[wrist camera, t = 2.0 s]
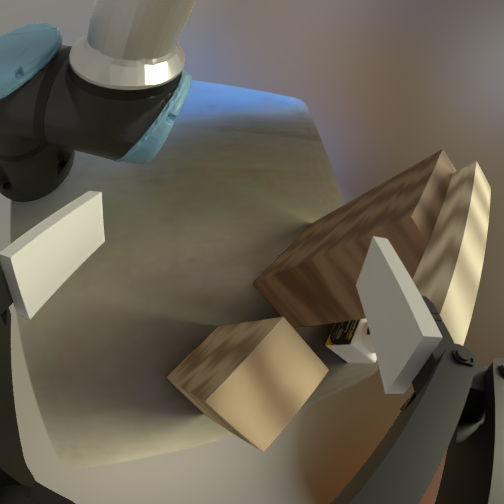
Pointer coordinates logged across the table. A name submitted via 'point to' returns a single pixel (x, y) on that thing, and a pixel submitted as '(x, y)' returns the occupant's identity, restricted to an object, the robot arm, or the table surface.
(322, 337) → the table surface
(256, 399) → the base pedestal
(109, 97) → the robot arm
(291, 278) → the stand
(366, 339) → the medicine bottle
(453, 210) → the wooden block
